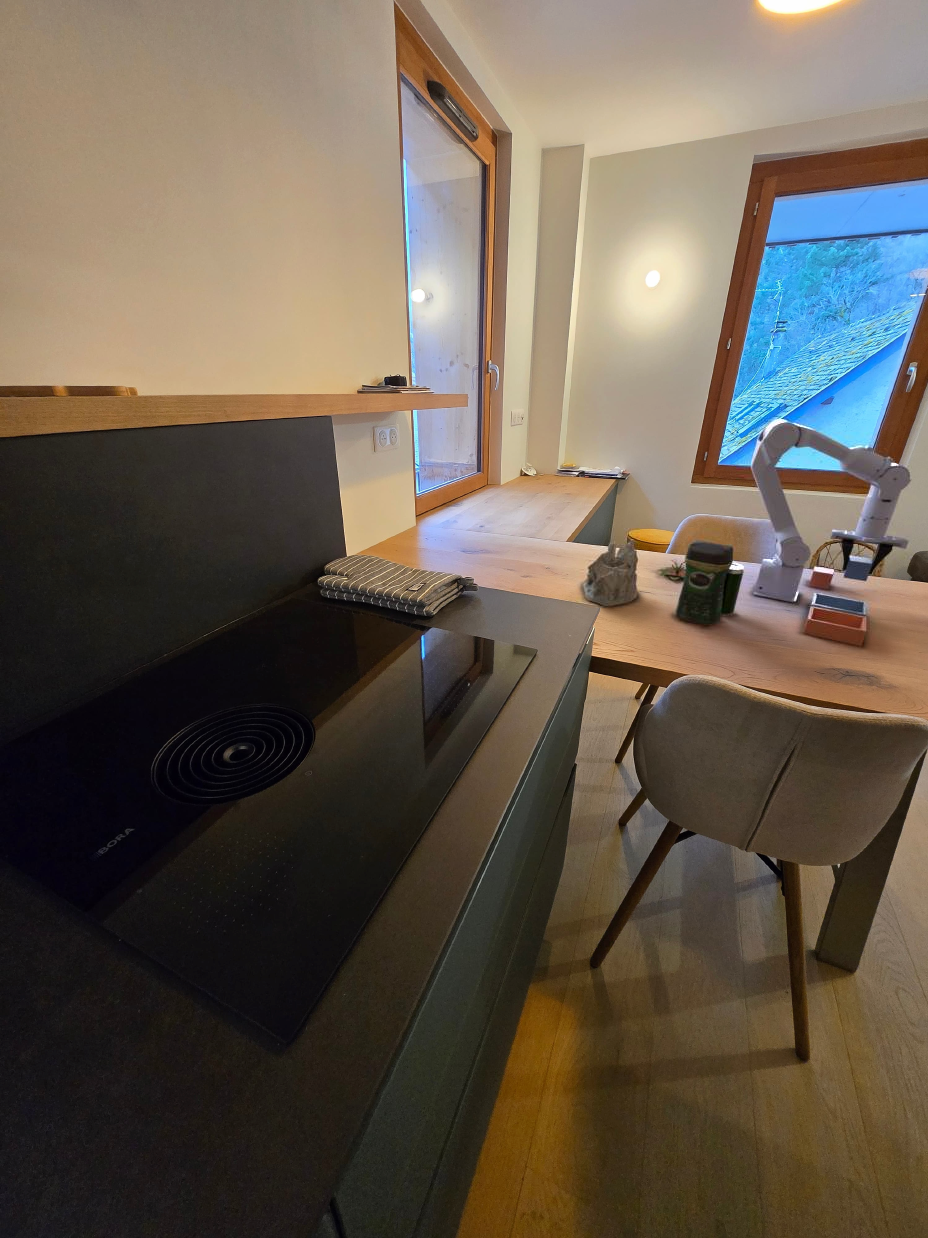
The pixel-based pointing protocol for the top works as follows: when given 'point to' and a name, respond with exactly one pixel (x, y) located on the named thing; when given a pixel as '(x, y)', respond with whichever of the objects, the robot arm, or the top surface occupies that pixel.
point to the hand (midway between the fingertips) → (856, 571)
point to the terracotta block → (821, 578)
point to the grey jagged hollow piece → (613, 576)
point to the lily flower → (674, 571)
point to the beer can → (731, 589)
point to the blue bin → (839, 604)
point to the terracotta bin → (836, 625)
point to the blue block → (858, 568)
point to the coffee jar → (704, 582)
